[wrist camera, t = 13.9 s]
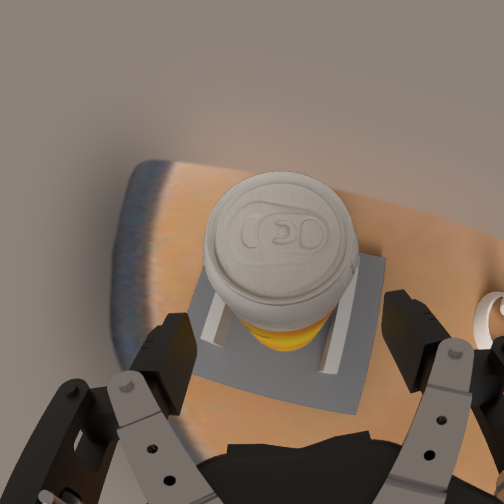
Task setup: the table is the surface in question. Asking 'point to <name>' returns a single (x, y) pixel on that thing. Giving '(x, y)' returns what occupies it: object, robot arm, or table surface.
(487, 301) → the hook
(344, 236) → the beer can
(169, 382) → the robot arm
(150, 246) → the table surface
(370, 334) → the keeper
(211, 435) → the table surface
